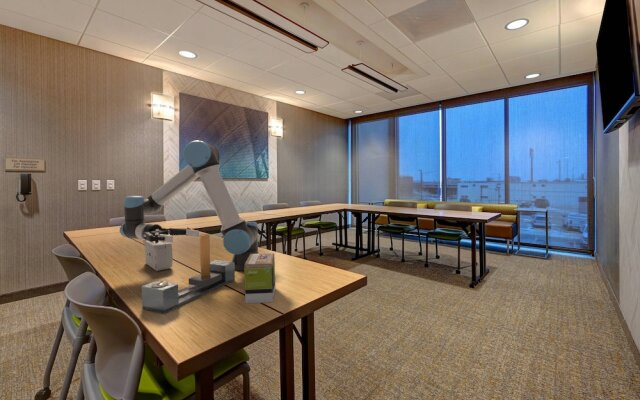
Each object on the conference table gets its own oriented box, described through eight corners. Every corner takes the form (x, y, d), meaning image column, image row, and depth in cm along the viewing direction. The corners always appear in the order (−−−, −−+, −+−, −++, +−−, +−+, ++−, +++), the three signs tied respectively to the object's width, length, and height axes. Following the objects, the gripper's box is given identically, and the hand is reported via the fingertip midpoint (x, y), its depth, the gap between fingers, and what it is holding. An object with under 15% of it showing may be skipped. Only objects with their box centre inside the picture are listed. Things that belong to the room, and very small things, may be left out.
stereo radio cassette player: (173, 269, 146) (172, 229, 145) (155, 272, 141) (153, 231, 139) (160, 260, 161) (158, 224, 160) (143, 263, 155) (141, 226, 154)
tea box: (250, 288, 120) (250, 252, 119) (275, 288, 121) (275, 252, 120) (244, 304, 105) (243, 263, 104) (273, 303, 106) (272, 262, 105)
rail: (216, 277, 134) (216, 258, 133) (234, 280, 130) (234, 260, 129) (142, 309, 100) (141, 283, 100) (163, 314, 97) (162, 287, 96)
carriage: (207, 277, 127) (206, 232, 125) (221, 279, 124) (221, 233, 122) (188, 284, 117) (187, 236, 116) (204, 287, 114) (203, 237, 113)
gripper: (173, 235, 143) (207, 239, 135) (121, 245, 120) (159, 251, 112) (173, 220, 142) (207, 223, 134) (121, 227, 119) (158, 231, 111)
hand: (185, 236), depth 123 cm, fingers open, 13 cm apart
